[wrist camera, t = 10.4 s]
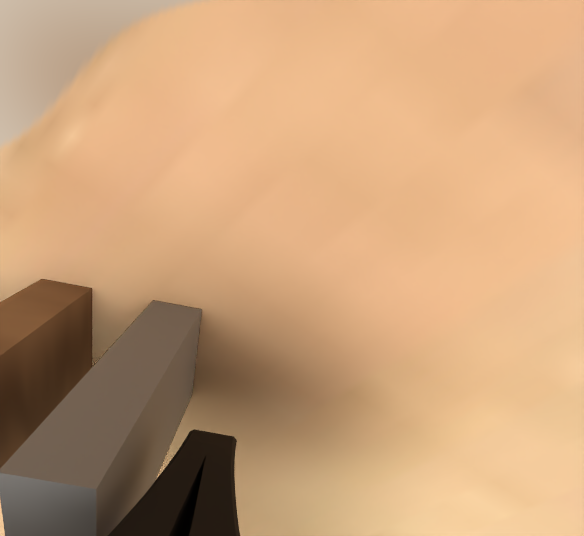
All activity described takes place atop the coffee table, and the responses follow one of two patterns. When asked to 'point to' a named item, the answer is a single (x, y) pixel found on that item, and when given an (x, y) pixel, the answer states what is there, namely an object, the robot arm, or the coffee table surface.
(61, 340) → the tile
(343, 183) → the coffee table surface
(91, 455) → the tile
